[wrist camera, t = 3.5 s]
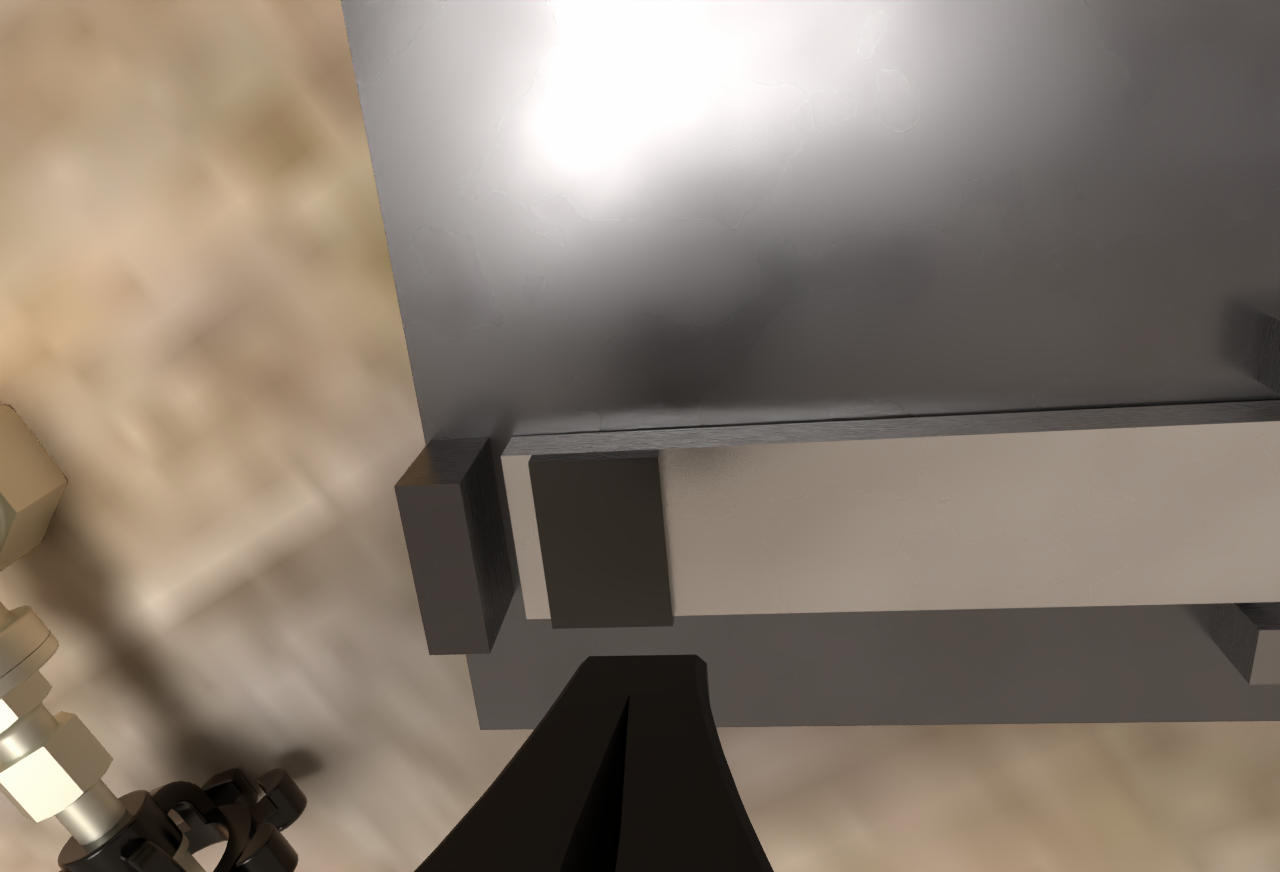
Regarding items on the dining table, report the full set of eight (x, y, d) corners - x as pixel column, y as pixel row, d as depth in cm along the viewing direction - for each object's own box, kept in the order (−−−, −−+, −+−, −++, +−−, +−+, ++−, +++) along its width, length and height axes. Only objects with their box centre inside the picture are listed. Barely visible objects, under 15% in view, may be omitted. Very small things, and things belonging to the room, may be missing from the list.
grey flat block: (1563, -1173, 10) (2222, -2146, 6) (1239, 621, 19) (1398, 797, 14) (262, -874, 12) (-20, -1437, 7) (514, 638, 20) (454, 799, 16)
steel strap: (1300, 398, 14) (1344, 426, 13) (1266, 574, 15) (1305, 612, 14) (512, 437, 15) (495, 464, 14) (535, 594, 16) (522, 629, 15)
